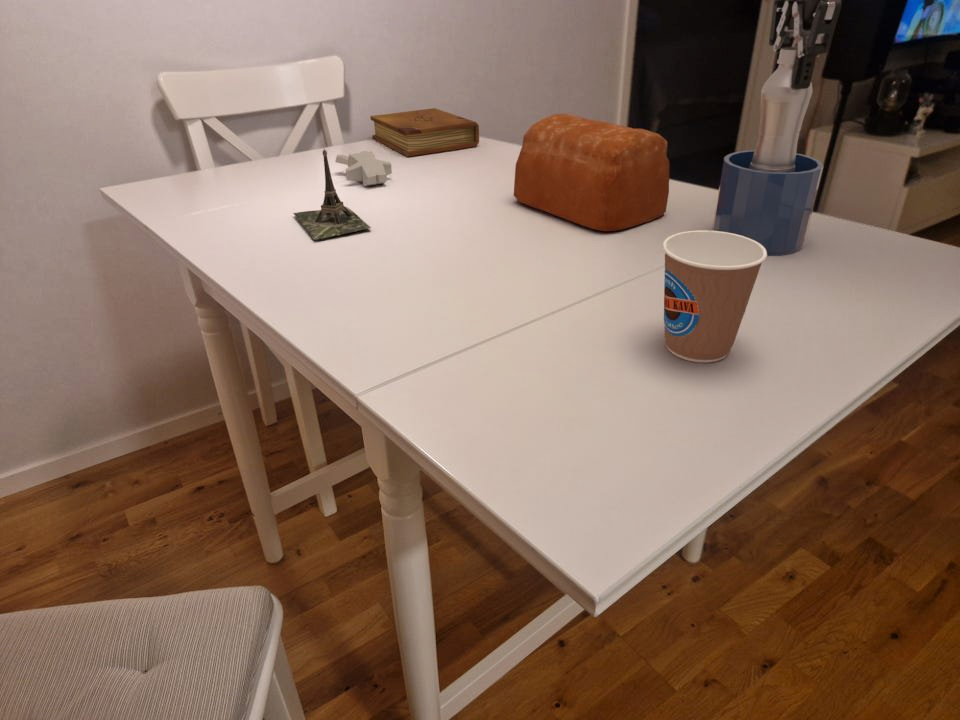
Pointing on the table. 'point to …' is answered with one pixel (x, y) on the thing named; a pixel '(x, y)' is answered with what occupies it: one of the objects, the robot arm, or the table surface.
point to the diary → (425, 131)
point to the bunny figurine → (365, 168)
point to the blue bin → (767, 202)
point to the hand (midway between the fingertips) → (789, 84)
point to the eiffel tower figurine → (330, 213)
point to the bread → (593, 172)
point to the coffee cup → (707, 291)
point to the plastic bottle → (780, 117)
